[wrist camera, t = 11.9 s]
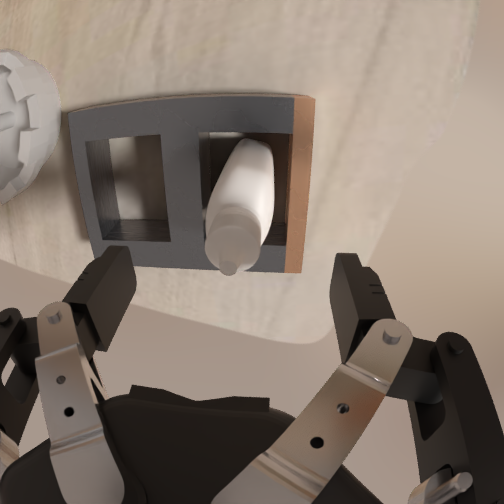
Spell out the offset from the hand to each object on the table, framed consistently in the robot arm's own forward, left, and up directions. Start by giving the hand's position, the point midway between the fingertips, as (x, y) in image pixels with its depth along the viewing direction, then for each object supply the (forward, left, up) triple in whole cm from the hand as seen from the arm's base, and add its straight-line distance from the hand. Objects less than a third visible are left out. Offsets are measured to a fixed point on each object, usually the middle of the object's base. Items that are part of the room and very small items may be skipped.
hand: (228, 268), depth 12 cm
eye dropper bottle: (0, 0, -13) cm, 13 cm away
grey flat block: (0, -4, -12) cm, 13 cm away
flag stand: (-6, -21, -13) cm, 25 cm away
